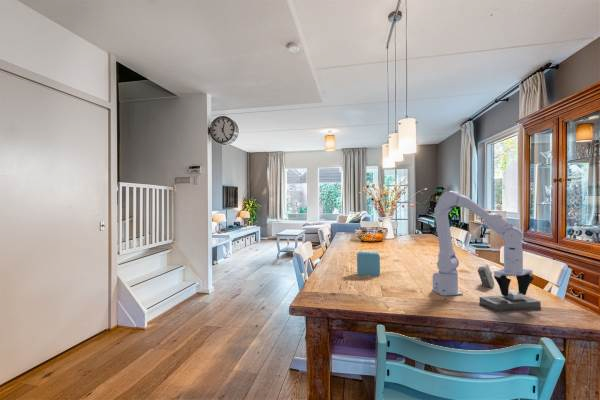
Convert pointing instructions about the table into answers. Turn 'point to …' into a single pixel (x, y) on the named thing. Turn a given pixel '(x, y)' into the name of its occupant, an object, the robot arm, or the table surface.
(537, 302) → the dark grey flat block
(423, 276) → the table surface
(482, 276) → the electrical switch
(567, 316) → the table surface
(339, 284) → the table surface
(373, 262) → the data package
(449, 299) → the table surface
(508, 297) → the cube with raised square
